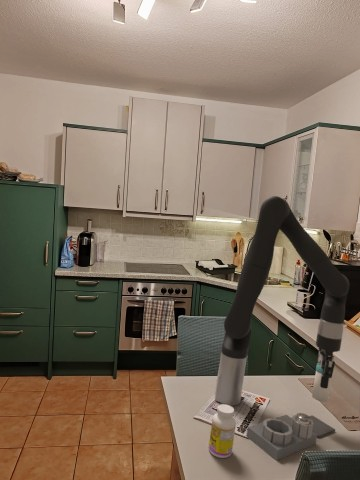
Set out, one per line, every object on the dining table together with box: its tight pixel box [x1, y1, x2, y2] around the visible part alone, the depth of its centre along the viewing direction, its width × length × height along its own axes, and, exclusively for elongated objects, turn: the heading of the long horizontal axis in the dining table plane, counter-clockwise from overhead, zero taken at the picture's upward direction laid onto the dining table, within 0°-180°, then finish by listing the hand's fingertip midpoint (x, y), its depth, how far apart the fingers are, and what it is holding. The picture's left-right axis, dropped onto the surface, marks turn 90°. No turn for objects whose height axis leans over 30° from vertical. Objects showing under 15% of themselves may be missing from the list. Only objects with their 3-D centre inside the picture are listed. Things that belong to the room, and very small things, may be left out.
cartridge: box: [311, 362, 333, 403], centre depth 124 cm, size 5×5×11 cm
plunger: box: [296, 412, 310, 425], centre depth 115 cm, size 4×4×5 cm
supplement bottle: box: [208, 403, 237, 459], centre depth 106 cm, size 7×7×13 cm
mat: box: [308, 414, 336, 439], centre depth 125 cm, size 9×9×1 cm
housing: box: [246, 414, 318, 461], centre depth 115 cm, size 18×12×7 cm, turn 124°
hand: (322, 383), depth 124 cm, fingers closed on cartridge, 5 cm apart
